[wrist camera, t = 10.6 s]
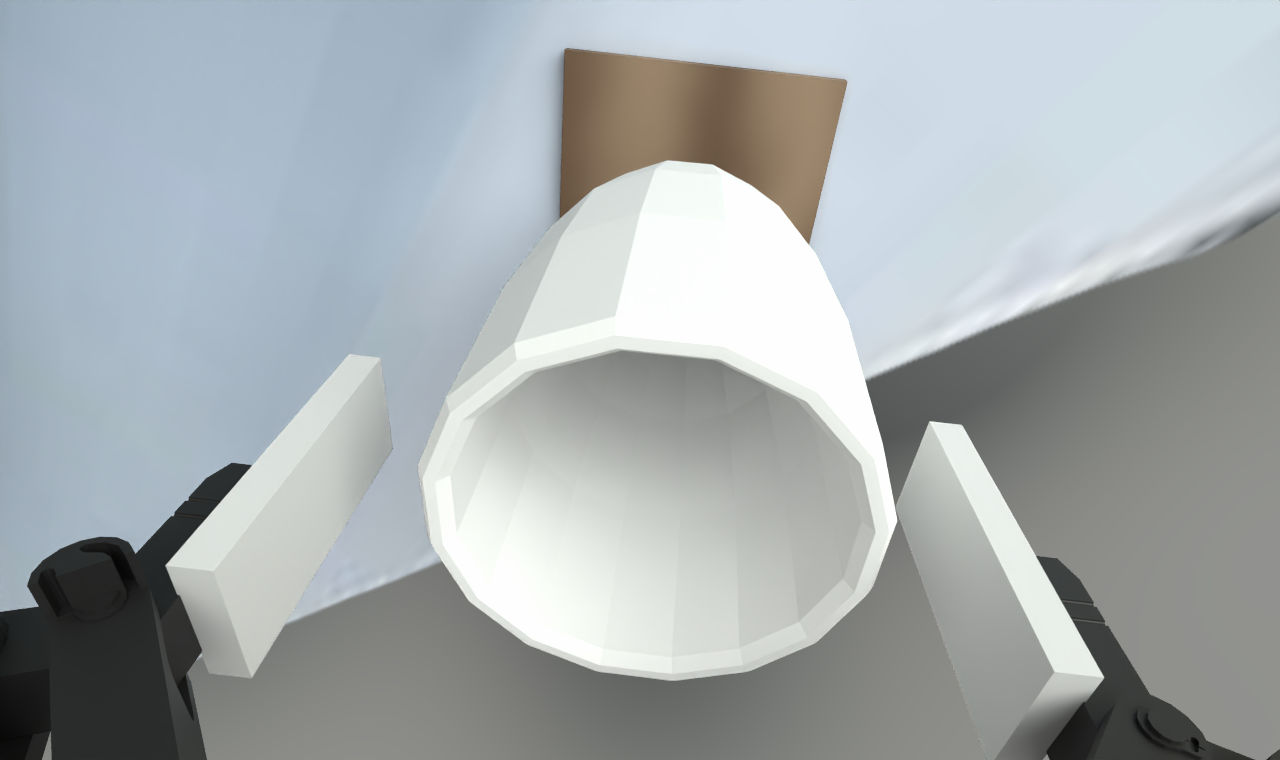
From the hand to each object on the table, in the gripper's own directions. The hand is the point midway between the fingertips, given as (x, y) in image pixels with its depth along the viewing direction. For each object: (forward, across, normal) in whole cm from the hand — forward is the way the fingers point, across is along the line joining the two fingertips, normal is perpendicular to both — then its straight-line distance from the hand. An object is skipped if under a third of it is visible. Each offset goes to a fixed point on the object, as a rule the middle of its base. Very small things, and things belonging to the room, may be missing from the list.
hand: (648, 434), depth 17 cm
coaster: (+19, +1, 0) cm, 19 cm away
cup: (+18, +1, 0) cm, 18 cm away
